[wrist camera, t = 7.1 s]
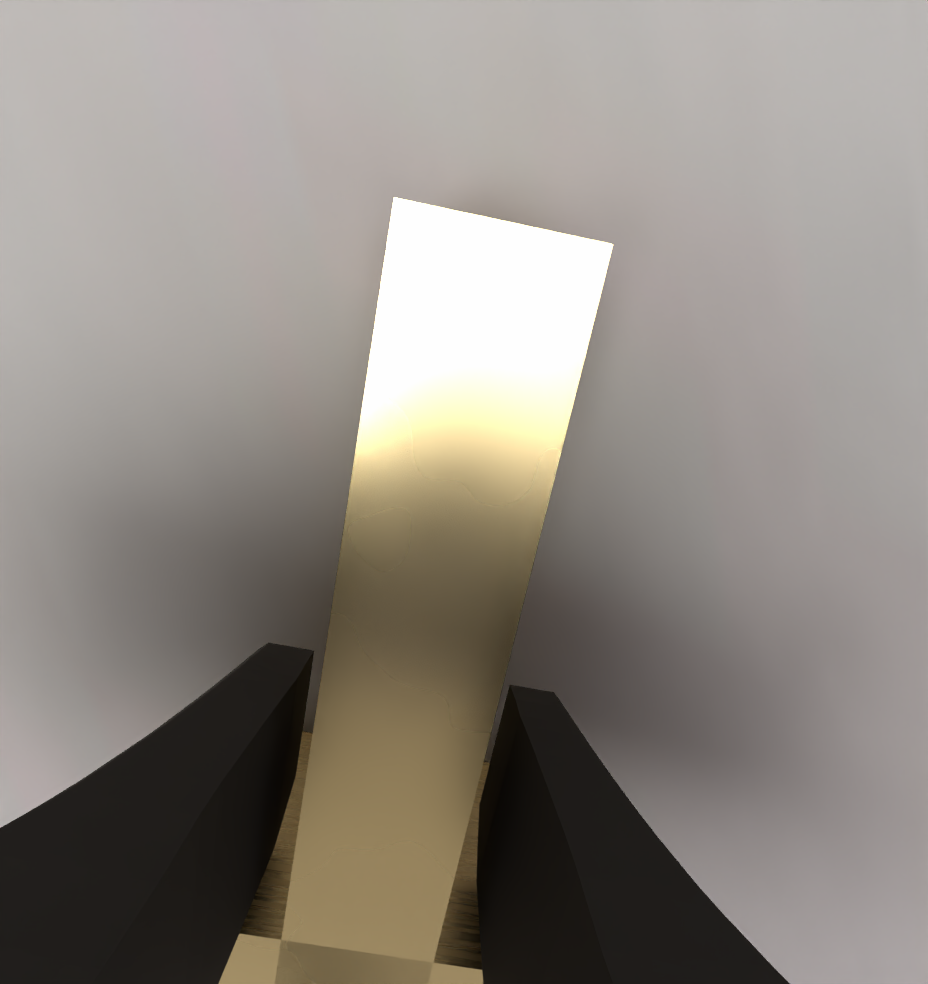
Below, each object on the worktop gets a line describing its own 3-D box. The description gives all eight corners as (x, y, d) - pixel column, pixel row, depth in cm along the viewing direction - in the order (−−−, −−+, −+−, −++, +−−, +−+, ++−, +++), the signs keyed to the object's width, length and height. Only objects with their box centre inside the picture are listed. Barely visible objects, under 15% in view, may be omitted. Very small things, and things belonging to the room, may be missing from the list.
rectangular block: (496, 848, 12) (507, 1078, 8) (250, 808, 12) (160, 1029, 8) (651, 276, 9) (766, 277, 5) (324, 207, 9) (229, 163, 5)
